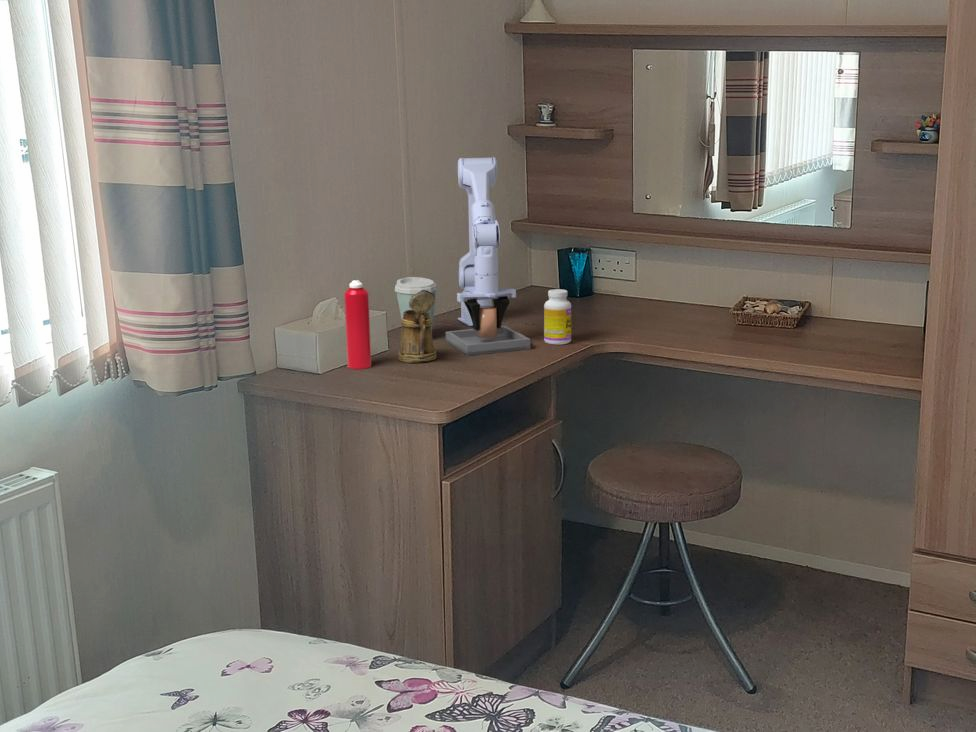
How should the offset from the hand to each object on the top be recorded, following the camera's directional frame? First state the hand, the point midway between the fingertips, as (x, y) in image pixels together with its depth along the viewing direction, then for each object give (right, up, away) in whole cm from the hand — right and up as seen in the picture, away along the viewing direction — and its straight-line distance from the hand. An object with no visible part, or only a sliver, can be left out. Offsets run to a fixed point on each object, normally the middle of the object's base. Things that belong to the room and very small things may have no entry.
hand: (487, 328), depth 286 cm
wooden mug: (-16, -8, -13) cm, 22 cm away
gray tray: (0, -4, +1) cm, 4 cm away
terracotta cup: (0, -2, +1) cm, 2 cm away
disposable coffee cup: (-18, -3, +9) cm, 20 cm away
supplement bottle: (+17, -3, +3) cm, 18 cm away
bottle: (-29, -9, -17) cm, 35 cm away
